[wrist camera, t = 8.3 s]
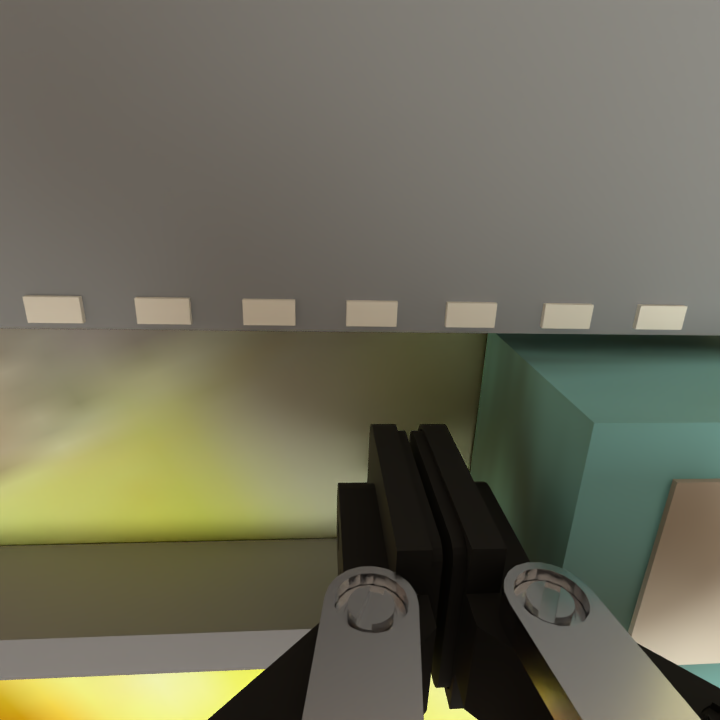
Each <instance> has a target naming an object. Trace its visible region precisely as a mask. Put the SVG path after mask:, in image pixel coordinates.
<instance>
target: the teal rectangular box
mask: <svg viewBox="0 0 720 720" xmlns="http://www.w3.org/2000/svg"><path fill="white" fill-rule="evenodd" d="M470 474H471V476H472V478H473V480H474V482H476V481H484V482H486V483H487V484H488V485H489V486H490V488H491V490H492V492H493V494H494V496H495V497H496V499H497V501H498V503H499V505H500V507H501V508H502V510H503V512H504V514H505V516H506V518H507V520H508V521H509V523H510V525H511V527H512V529H513V531H514V533H515V534H516V536H517V538H518V540H519V542H520V544H521V545H522V547H523V549H524V551H525V553H526V555H527V557H528V558H529V560H530V562H541V563H546V564H551V565H555V566H557V567H560V568H562V569H565V570H567V571H569V572H571V573H572V574H574V575H575V576H577V577H578V578H580V579H581V580H582V581H583V582H584V583H585V584H587V585H588V586H589V587H590V588H591V589H592V591H593V592H594V593H595V594H596V595H597V596H598V598H599V599H600V600H601V601H602V602H603V604H604V605H605V606H606V607H607V608H608V610H609V611H610V612H611V613H612V614H613V615H614V617H615V618H616V619H617V620H618V621H619V623H620V624H621V625H622V626H623V627H624V629H625V630H626V631H627V632H628V633H629V635H630V636H631V637H632V638H633V639H634V640H635V642H636V643H638V644H640V645H642V646H644V647H645V648H647V649H649V650H651V651H653V652H655V653H656V654H658V655H660V656H662V657H664V658H666V659H667V660H669V661H671V662H673V663H675V664H677V665H678V666H680V667H682V668H684V669H686V670H687V671H689V672H691V673H693V674H695V675H697V676H698V677H700V678H702V679H704V680H706V681H708V682H709V683H711V684H713V685H715V686H717V687H719V688H720V335H622V334H522V333H488V337H487V345H486V352H485V360H484V368H483V376H482V384H481V392H480V399H479V407H478V415H477V423H476V431H475V439H474V447H473V454H472V462H471V470H470Z"/></svg>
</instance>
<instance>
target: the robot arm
mask: <svg viewBox="0 0 720 720" xmlns="http://www.w3.org/2000/svg"><path fill="white" fill-rule="evenodd" d="M337 564H338V576H337V577H336V578H335V579H334V580H333V581H332V583H331V584H330V585H329V586H328V589H327V591H326V594H325V597H324V602H323V607H322V613H321V618H320V622H319V623H318V624H317V625H316V626H315V627H314V628H312V629H311V630H310V631H309V632H308V633H307V634H306V635H304V636H303V637H302V638H301V639H300V640H299V641H297V642H296V643H295V644H294V645H293V646H292V647H291V648H289V649H288V650H287V651H286V652H285V653H284V654H283V655H281V656H280V657H279V658H278V659H277V660H276V661H275V662H273V663H272V664H271V665H270V666H269V667H268V668H267V669H265V670H264V671H263V672H262V673H261V674H260V675H258V676H257V677H256V678H255V679H254V680H253V681H252V682H250V683H249V684H248V685H247V686H246V687H245V688H244V689H242V690H241V691H240V692H239V693H238V694H237V695H236V696H234V697H233V698H232V699H231V700H230V701H229V702H227V703H226V704H225V705H224V706H223V707H222V708H221V709H219V710H218V711H217V712H216V713H215V714H214V715H213V716H211V717H210V718H209V719H208V720H424V716H423V715H424V713H425V712H426V711H427V703H428V695H429V686H430V678H431V674H432V679H433V683H434V685H435V687H436V688H440V687H444V688H445V692H446V696H447V700H448V704H449V709H459V708H464V709H465V710H466V711H468V712H469V713H470V714H471V715H473V716H474V717H475V718H477V719H478V720H720V688H719V687H717V686H715V685H713V684H711V683H709V682H708V681H706V680H704V679H702V678H700V677H698V676H697V675H695V674H693V673H691V672H689V671H687V670H686V669H684V668H682V667H680V666H678V665H677V664H675V663H673V662H671V661H669V660H667V659H666V658H664V657H662V656H660V655H658V654H656V653H655V652H653V651H651V650H649V649H647V648H645V647H644V646H642V645H640V644H638V643H636V642H635V640H634V639H633V638H632V637H631V636H630V635H629V633H628V632H627V631H626V630H625V629H624V627H623V626H622V625H621V624H620V623H619V621H618V620H617V619H616V618H615V617H614V615H613V614H612V613H611V612H610V611H609V610H608V608H607V607H606V606H605V605H604V604H603V602H602V601H601V600H600V599H599V598H598V596H597V595H596V594H595V593H594V592H593V591H592V589H591V588H590V587H589V586H588V585H587V584H585V583H584V582H583V581H582V580H581V579H580V578H578V577H577V576H575V575H574V574H572V573H571V572H569V571H567V570H565V569H562V568H560V567H557V566H555V565H551V564H546V563H541V562H530V560H529V558H528V557H527V555H526V553H525V551H524V549H523V547H522V545H521V544H520V542H519V540H518V538H517V536H516V534H515V533H514V531H513V529H512V527H511V525H510V523H509V521H508V520H507V518H506V516H505V514H504V512H503V510H502V508H501V507H500V505H499V503H498V501H497V499H496V497H495V496H494V494H493V492H492V490H491V488H490V486H489V485H488V484H487V483H486V482H484V481H476V482H474V480H473V478H472V476H471V474H470V472H469V470H468V468H467V466H466V464H465V462H464V460H463V458H462V456H461V454H460V452H459V450H458V448H457V446H456V444H455V442H454V440H453V438H452V436H451V434H450V432H449V430H448V428H447V426H446V425H445V424H420V426H419V429H418V431H411V432H410V438H409V441H408V438H407V434H406V432H405V431H398V430H397V427H396V424H371V426H370V437H369V458H368V479H367V483H338V490H337Z"/></svg>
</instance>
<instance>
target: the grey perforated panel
mask: <svg viewBox="0 0 720 720" xmlns="http://www.w3.org/2000/svg"><path fill="white" fill-rule="evenodd" d="M0 328H25V329H124V330H224V331H323V332H423V333H522V334H622V335H720V0H0ZM337 576H338V564H337V538H334V539H289V540H244V541H200V542H155V543H111V544H66V545H22V546H0V680H15V679H38V678H62V677H86V676H109V675H133V674H156V673H180V672H203V671H227V670H250V669H267V668H268V667H269V666H270V665H271V664H272V663H273V662H275V661H276V660H277V659H278V658H279V657H280V656H281V655H283V654H284V653H285V652H286V651H287V650H288V649H289V648H291V647H292V646H293V645H294V644H295V643H296V642H297V641H299V640H300V639H301V638H302V637H303V636H304V635H306V634H307V633H308V632H309V631H310V630H311V629H312V628H314V627H315V626H316V625H317V624H318V623H319V622H320V618H321V613H322V607H323V602H324V597H325V594H326V591H327V589H328V586H329V585H330V584H331V583H332V581H333V580H334V579H335V578H336V577H337Z"/></svg>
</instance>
